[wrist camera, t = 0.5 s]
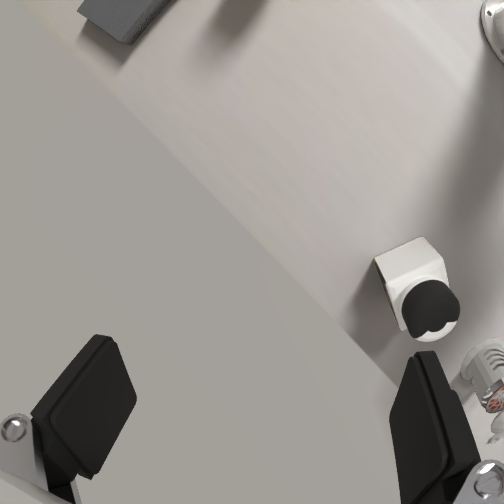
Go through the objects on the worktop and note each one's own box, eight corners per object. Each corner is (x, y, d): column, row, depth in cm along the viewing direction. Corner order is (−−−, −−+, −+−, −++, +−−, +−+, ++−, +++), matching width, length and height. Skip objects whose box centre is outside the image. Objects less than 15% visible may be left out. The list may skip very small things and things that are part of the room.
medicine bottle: (372, 257, 38) (396, 309, 27) (422, 234, 36) (462, 278, 25) (388, 301, 40) (411, 359, 29) (434, 280, 38) (470, 332, 27)
